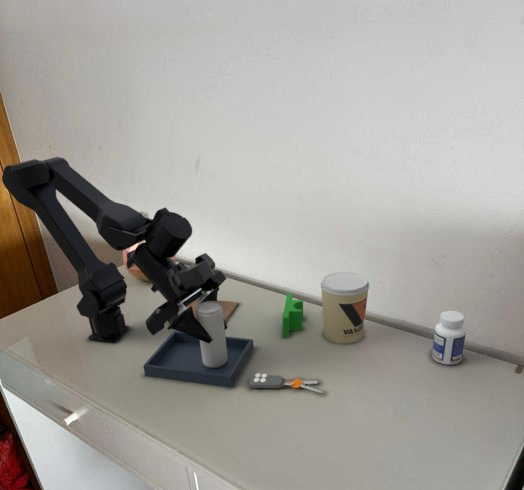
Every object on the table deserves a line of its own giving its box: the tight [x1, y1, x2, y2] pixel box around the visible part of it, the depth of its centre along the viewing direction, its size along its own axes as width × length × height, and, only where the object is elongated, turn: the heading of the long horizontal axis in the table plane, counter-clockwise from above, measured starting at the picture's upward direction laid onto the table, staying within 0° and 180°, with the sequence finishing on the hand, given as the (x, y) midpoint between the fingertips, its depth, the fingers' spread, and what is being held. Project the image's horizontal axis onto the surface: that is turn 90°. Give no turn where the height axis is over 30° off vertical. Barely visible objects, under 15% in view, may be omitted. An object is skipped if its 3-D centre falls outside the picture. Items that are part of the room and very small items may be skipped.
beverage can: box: [196, 301, 228, 368], centre depth 92 cm, size 5×5×12 cm
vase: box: [122, 210, 177, 283], centre depth 129 cm, size 14×14×18 cm
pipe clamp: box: [282, 293, 304, 338], centre depth 106 cm, size 11×4×5 cm, turn 173°
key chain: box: [248, 372, 323, 394], centre depth 87 cm, size 13×4×2 cm, turn 80°
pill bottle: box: [431, 310, 467, 366], centre depth 91 cm, size 5×5×9 cm
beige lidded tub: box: [320, 271, 370, 344], centre depth 99 cm, size 9×9×12 cm
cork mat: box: [186, 300, 239, 322], centre depth 113 cm, size 12×12×1 cm
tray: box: [142, 330, 255, 388], centre depth 95 cm, size 17×13×2 cm
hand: (218, 335), depth 91 cm, fingers closed on beverage can, 5 cm apart
